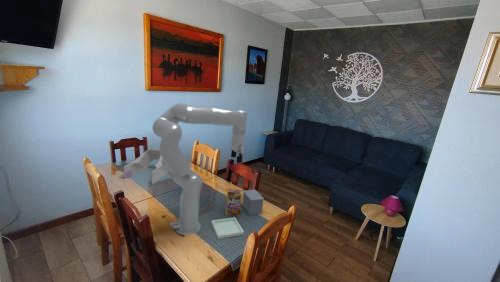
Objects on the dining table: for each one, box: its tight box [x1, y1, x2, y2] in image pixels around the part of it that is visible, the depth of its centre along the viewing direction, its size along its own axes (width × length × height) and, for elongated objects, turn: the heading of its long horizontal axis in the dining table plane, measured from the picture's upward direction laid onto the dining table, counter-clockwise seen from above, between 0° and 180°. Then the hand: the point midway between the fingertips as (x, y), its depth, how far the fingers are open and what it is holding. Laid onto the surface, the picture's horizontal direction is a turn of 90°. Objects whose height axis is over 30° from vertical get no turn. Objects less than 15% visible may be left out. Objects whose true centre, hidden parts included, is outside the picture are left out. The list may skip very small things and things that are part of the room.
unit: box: [241, 189, 265, 216], centre depth 143 cm, size 9×13×11 cm
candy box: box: [224, 188, 244, 217], centre depth 136 cm, size 9×4×15 cm, turn 89°
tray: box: [211, 216, 245, 240], centre depth 122 cm, size 14×14×2 cm
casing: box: [123, 148, 168, 185], centre depth 175 cm, size 28×23×20 cm
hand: (236, 159), depth 136 cm, fingers open, 9 cm apart
